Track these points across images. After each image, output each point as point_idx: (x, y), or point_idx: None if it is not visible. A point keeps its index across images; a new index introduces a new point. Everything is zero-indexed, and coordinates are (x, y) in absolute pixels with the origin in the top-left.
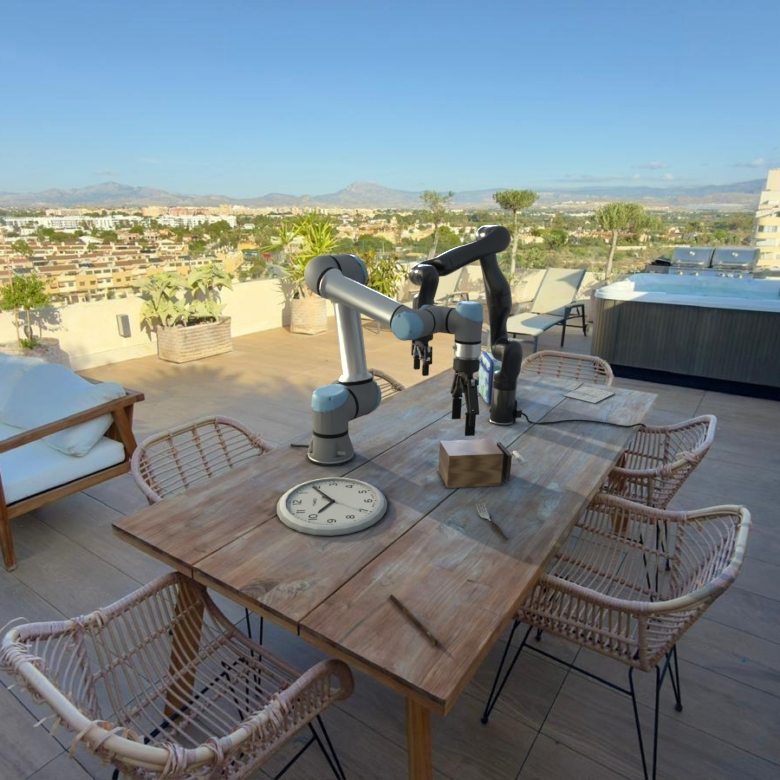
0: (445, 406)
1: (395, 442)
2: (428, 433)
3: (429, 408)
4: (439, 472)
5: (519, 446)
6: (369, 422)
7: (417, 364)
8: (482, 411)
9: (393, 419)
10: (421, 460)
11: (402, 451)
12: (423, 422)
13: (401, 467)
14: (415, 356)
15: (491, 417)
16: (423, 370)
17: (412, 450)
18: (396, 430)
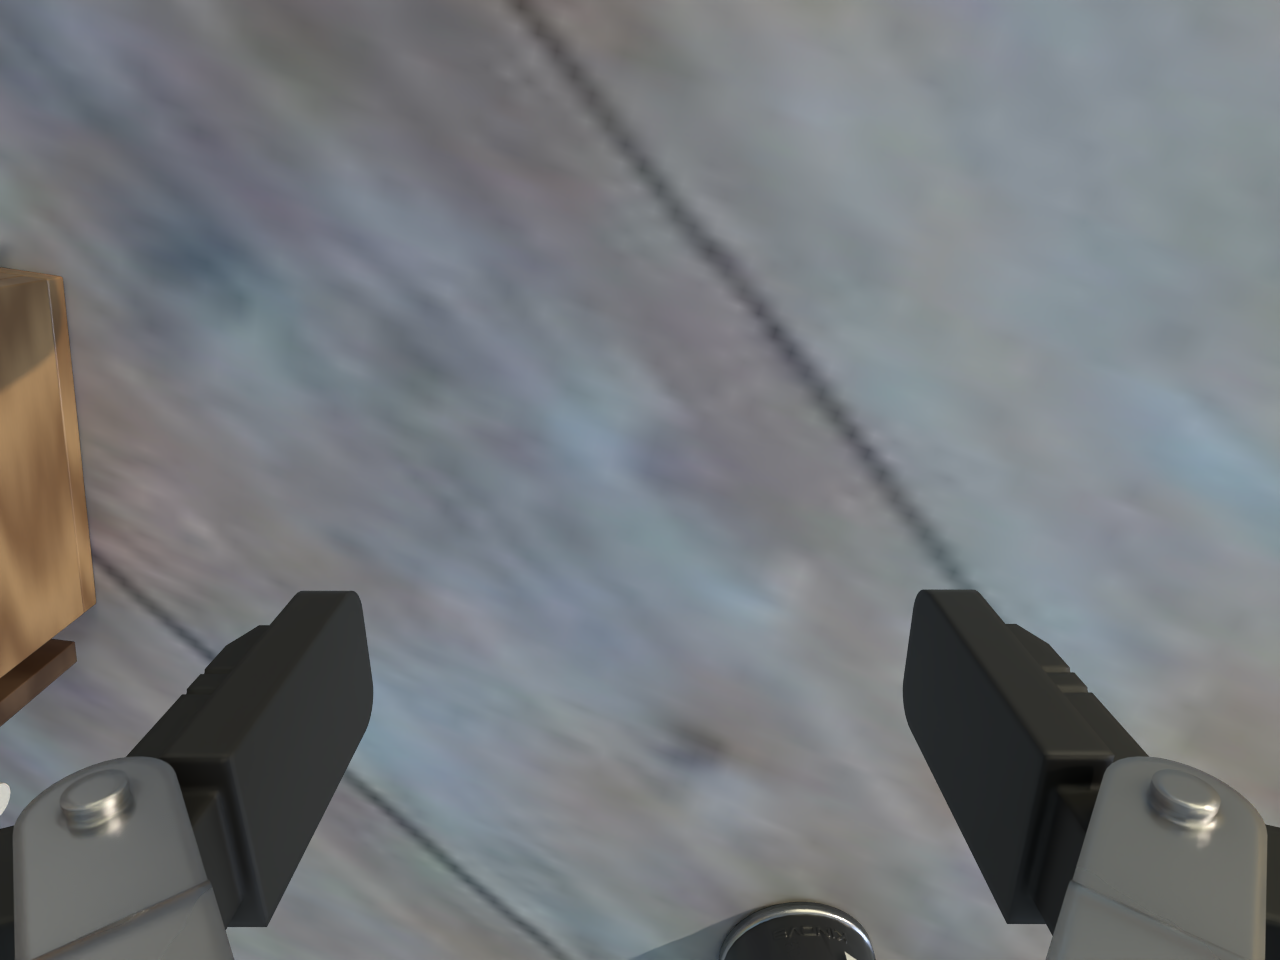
0: (1222, 766)
1: (651, 124)
2: (754, 458)
3: (1246, 648)
4: (23, 271)
5: (403, 884)
6: (1200, 16)
7: (951, 731)
8: (1008, 932)
9: (1161, 280)
10: (263, 220)
11: (454, 123)
12: (984, 501)
13: (145, 5)
14: (1075, 872)
15: (805, 932)
16: (243, 673)
17: (459, 215)
18: (905, 222)
